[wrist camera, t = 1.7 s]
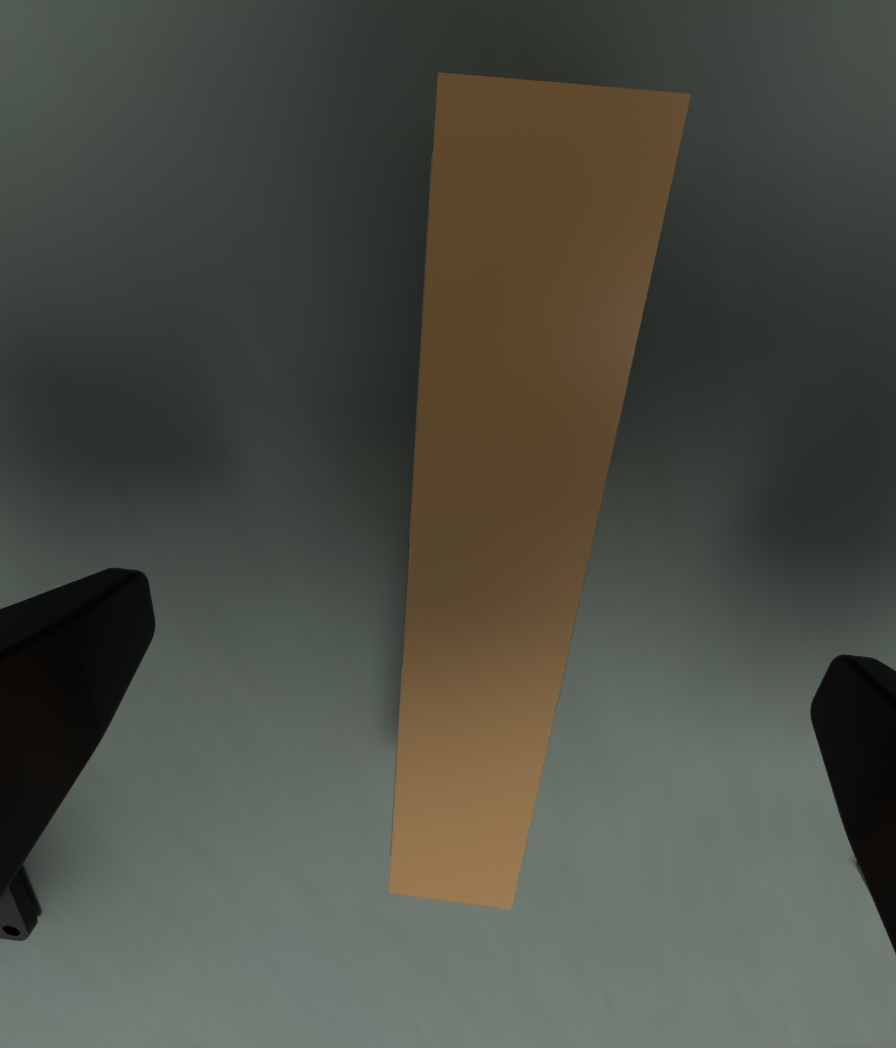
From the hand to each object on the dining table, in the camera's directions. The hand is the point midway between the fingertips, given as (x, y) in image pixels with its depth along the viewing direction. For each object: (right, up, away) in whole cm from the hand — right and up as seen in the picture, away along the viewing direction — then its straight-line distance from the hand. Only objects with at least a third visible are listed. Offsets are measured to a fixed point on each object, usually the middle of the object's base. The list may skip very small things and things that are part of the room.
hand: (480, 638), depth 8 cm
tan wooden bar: (0, +2, +3) cm, 4 cm away
